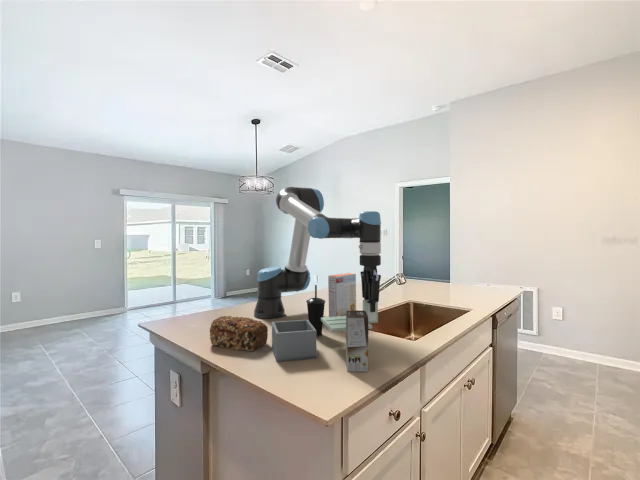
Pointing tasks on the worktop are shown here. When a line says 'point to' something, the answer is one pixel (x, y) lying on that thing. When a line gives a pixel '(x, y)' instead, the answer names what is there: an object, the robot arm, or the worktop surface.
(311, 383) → the worktop surface
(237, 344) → the bread
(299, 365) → the worktop surface
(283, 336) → the tub
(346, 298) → the cracker box
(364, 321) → the coffee box
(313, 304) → the drinking cup
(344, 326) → the lid
